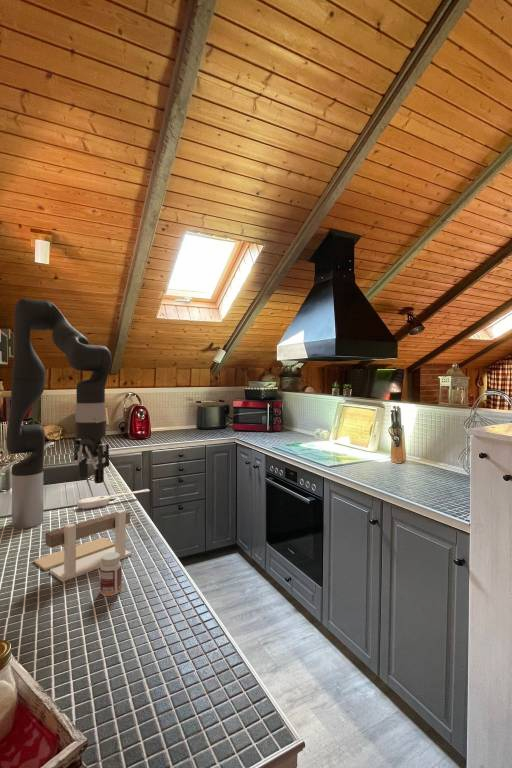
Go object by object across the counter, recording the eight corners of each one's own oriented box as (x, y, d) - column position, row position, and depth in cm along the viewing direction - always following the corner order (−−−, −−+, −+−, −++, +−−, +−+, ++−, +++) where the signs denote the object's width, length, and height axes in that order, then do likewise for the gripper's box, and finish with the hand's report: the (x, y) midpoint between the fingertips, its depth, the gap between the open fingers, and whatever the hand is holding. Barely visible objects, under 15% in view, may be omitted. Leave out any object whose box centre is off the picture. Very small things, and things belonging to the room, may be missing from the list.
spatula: (146, 494, 168) (146, 487, 168) (152, 498, 164) (152, 491, 164) (75, 507, 151) (75, 499, 151) (79, 511, 147) (79, 503, 147)
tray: (33, 562, 107) (33, 560, 107) (103, 539, 123) (103, 537, 123) (44, 570, 103) (44, 568, 103) (115, 545, 118) (115, 543, 118)
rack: (49, 572, 102) (49, 522, 102) (117, 548, 117) (117, 504, 116) (62, 581, 97) (62, 529, 97) (131, 555, 112) (131, 510, 112)
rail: (45, 544, 100) (45, 532, 100) (124, 520, 117) (124, 510, 117) (50, 547, 98) (50, 535, 98) (130, 522, 115) (130, 512, 115)
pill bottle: (114, 583, 97) (114, 549, 97) (125, 590, 94) (125, 555, 94) (95, 591, 93) (96, 556, 93) (106, 599, 90) (107, 562, 90)
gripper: (64, 418, 108) (64, 478, 109) (90, 422, 99) (90, 487, 100) (90, 416, 114) (90, 473, 114) (118, 420, 105) (118, 481, 105)
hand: (90, 480), depth 107 cm, fingers open, 8 cm apart
